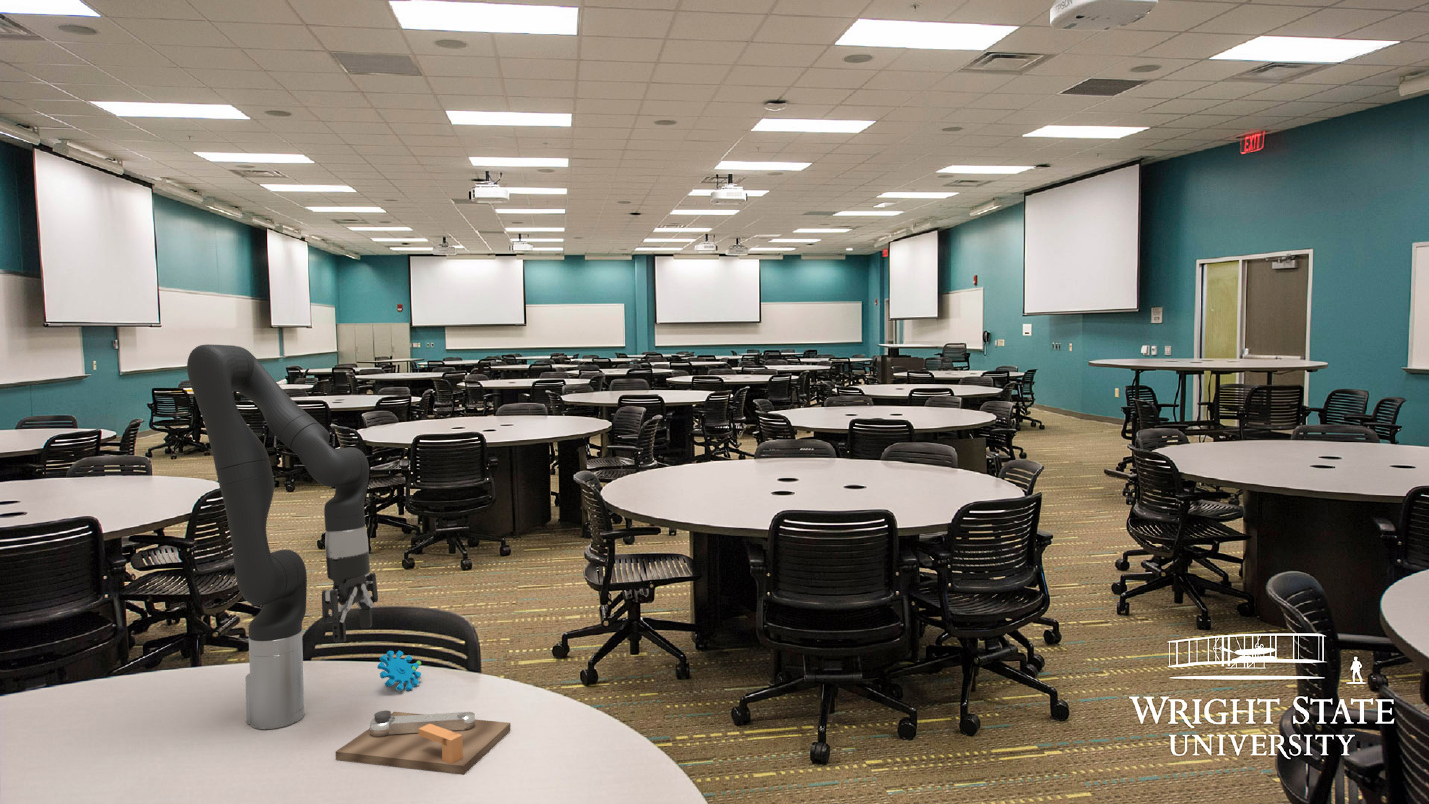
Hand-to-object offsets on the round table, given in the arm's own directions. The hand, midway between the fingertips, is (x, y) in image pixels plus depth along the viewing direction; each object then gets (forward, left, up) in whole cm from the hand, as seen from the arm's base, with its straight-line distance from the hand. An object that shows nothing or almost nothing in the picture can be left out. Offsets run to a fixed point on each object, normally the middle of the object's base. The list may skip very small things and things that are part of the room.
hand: (353, 634), depth 154 cm
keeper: (+25, -10, -16) cm, 31 cm away
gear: (-3, +19, -18) cm, 26 cm away
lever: (+16, -2, -16) cm, 23 cm away
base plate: (+18, -5, -18) cm, 26 cm away
